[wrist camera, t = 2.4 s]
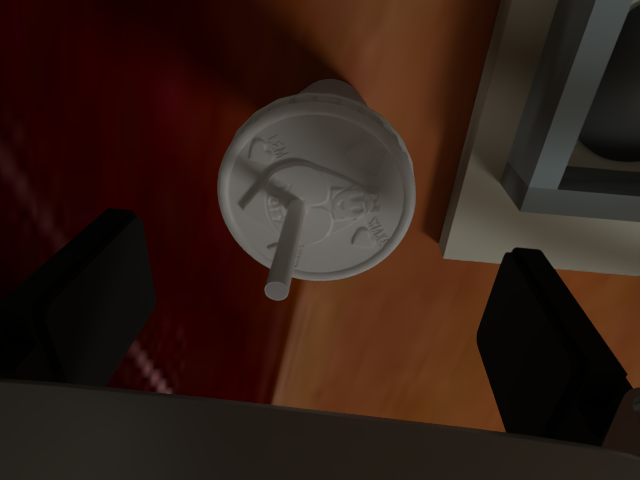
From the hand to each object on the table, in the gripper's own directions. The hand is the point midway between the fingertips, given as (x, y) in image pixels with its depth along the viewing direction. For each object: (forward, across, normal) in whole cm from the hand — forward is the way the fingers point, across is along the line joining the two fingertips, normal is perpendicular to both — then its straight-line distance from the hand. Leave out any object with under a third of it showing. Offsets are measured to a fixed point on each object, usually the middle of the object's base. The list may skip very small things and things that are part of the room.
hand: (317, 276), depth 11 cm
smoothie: (+13, 0, -1) cm, 13 cm away
